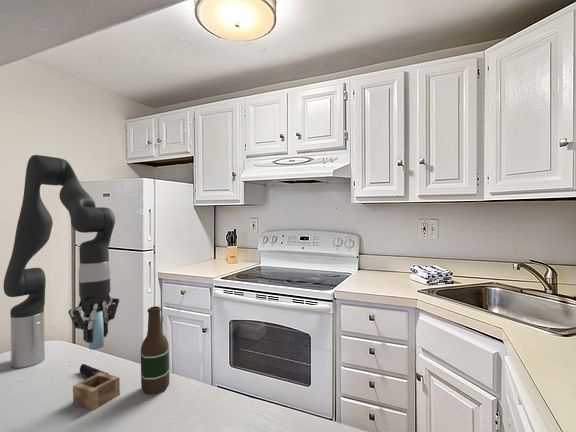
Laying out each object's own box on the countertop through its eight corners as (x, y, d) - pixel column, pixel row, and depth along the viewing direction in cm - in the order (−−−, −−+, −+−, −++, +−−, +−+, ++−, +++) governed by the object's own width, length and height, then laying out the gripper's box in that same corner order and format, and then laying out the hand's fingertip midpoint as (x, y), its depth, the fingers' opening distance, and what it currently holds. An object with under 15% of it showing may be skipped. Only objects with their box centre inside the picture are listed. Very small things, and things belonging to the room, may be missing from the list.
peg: (85, 348, 88) (85, 312, 88) (98, 343, 91) (97, 308, 91) (94, 350, 87) (93, 313, 87) (106, 345, 90) (106, 310, 90)
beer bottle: (141, 384, 96) (140, 305, 96) (168, 379, 99) (167, 302, 99) (140, 398, 89) (139, 313, 89) (170, 391, 92) (168, 309, 92)
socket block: (73, 403, 87) (73, 385, 87) (100, 389, 94) (100, 372, 94) (93, 410, 84) (92, 391, 84) (119, 394, 91) (119, 377, 91)
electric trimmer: (88, 370, 107) (88, 361, 107) (113, 382, 99) (113, 372, 99) (76, 375, 104) (76, 365, 104) (101, 388, 95) (101, 377, 95)
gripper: (108, 273, 97) (109, 329, 97) (59, 282, 84) (61, 347, 84) (126, 274, 94) (127, 332, 94) (78, 284, 81) (79, 351, 81)
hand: (96, 339), depth 89 cm, fingers closed on peg, 3 cm apart
